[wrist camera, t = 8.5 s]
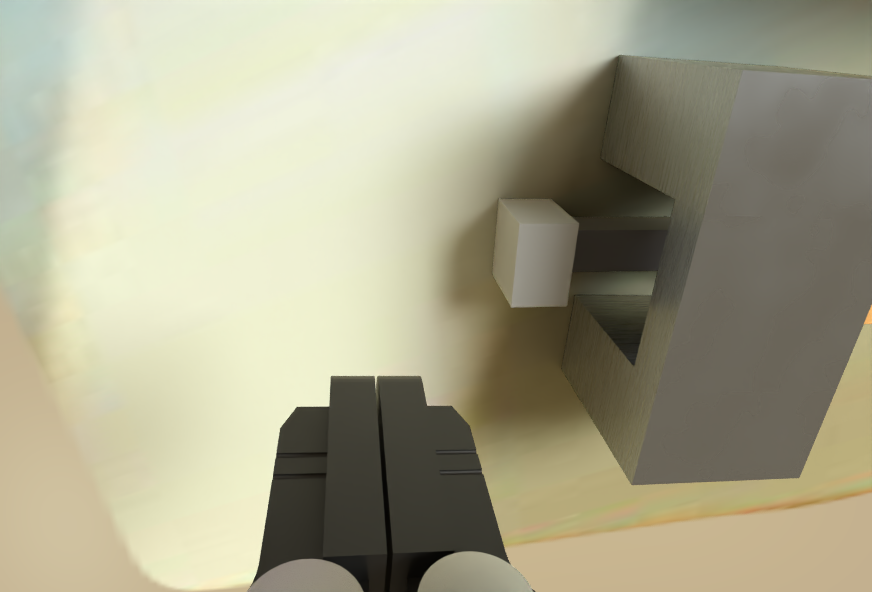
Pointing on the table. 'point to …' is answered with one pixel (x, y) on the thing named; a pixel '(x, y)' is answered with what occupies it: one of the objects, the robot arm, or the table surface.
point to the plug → (568, 249)
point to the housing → (732, 269)
